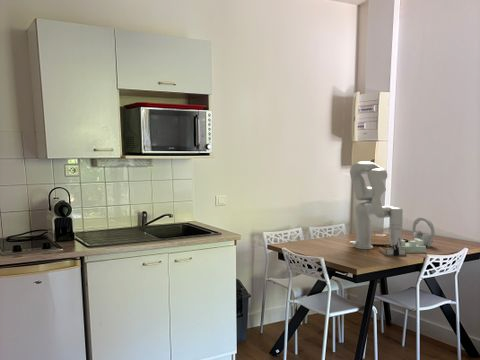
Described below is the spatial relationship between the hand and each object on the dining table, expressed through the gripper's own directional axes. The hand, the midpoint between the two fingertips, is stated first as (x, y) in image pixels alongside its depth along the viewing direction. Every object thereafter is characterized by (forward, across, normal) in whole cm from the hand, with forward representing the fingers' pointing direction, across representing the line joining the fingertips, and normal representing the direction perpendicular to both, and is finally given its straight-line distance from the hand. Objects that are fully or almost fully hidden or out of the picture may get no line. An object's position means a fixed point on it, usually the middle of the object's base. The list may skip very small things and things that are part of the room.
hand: (395, 254), depth 248 cm
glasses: (0, -5, 0) cm, 5 cm away
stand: (0, -13, +15) cm, 20 cm away
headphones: (+1, -28, +30) cm, 41 cm away
